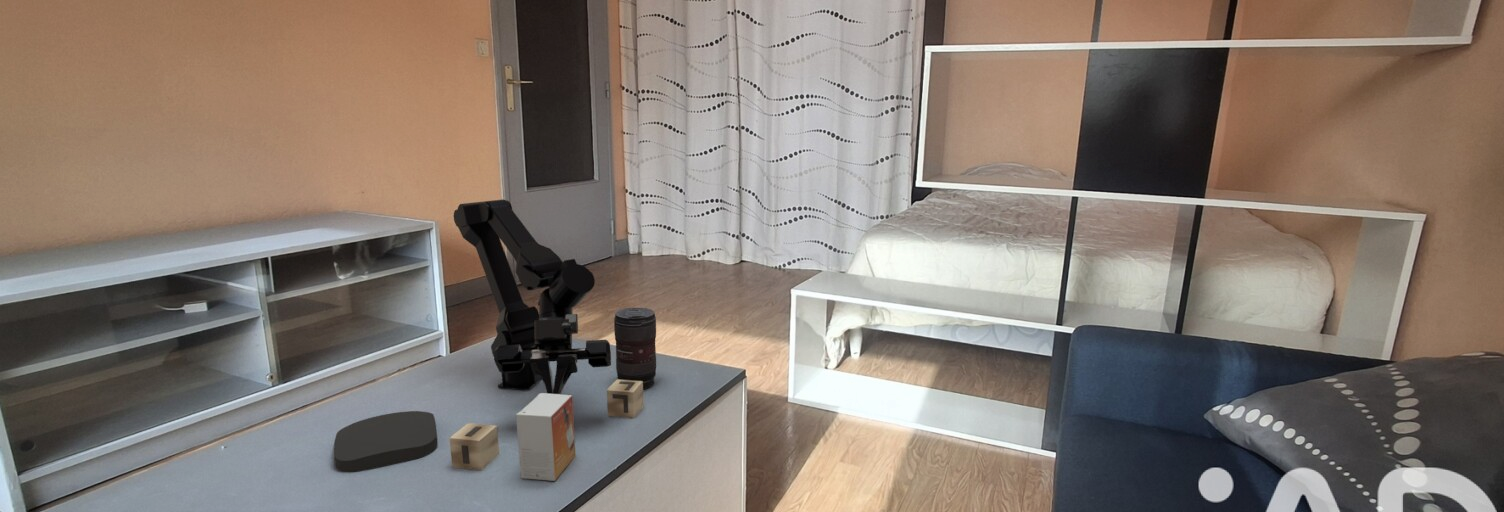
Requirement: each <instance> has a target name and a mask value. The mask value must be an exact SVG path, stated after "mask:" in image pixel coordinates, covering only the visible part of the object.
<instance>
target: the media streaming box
mask: <svg viewBox="0 0 1504 512" xmlns="http://www.w3.org/2000/svg"><path fill="white" fill-rule="evenodd" d="M436 423H437V422H436V419H435V416H434V414H433V413H432V412H429V411H419V410H409V411H398V412H397V411H396V412H392V413H385V414H380V415H376V416H372V417H368V418H365V419H362V420H359V421H355V422H353V423H351V424H349V425H346V426H345V427H343V428H341V429H340V430H338V431H337V432H336V434H335V438H334V444H333V457H334V465H335V469H336V470H338V471H341V472H343V473H344V472H346V473H347V472H348V473H354V472H362V471H365V470H371V469H376V468H380V467H381V468H382V467H386V466H391V465H395V464H399V463H404V462H405V463H406V462H409V461H413V460H417V459H420V458H423V457H427V456H428V455H431V453H433V452H434V451H435V450H437V448H438V443H439V441H438V434H437V425H436Z"/></svg>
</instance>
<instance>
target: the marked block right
mask: <svg viewBox="0 0 1504 512" xmlns="http://www.w3.org/2000/svg"><path fill="white" fill-rule="evenodd" d="M606 405H607V416H608V417H619V418H628V419H635V418H636V416H637V415H638V414H639V413H640V411H642V409H643V408H644V405H645V404H644V389H643V381H632V380H620V379H618V378H617V379H616V380H614V382H613V383H612V384H611V385H610V386H609V387H608V388H607V389H606Z"/></svg>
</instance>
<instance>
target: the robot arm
mask: <svg viewBox="0 0 1504 512" xmlns="http://www.w3.org/2000/svg"><path fill="white" fill-rule="evenodd" d="M453 222H454V224H455V227H457V228H458V230H459V232H460V234H461V236H462V238H463V239H464V241H465V240H466V242H468V243H469V244H471V245H472V246H473V247H474V248H475V250H476V253H477V255H478V258H479V260H480V263H481V266H482V268H483V271H484V274H485V277H486V280H487V282H488V285H489V288H490V290H491V293H492V296H493V299H494V302H495V304H496V306H497V311H498V313H499V315H498V318H497V322H496V326H495V330H496V333H497V335H496V336H495V339H494V340H493V342H492V343H491V346H490V350H491V353H492V357H493V361H494V363H495V365H496V368H497V369H498V370H497V371H498V372H499V373H501V382H500V383H499V384H497V388H498V389H505V390H518V391H519V390H521V391H528V390H530V389H531V388H533V387H534V386H535V385H536V384H537V383H538V382H540V381H541V380H542V382H543V384H544V387H545V390H546V393H548V394H562V391H563V390H564V388H565V385H566V383H567V382H568V380H569V378H570V377H571V375H572V374H574V373H575V374H576V373H577V372H578V365H577V363H578V361H580V360H581V361H582V360H587V362H588V365H589V366H590V367H592V368H604V367H610V366H612V353H611V344H610V343H611V342H610V341H608V339H593V340H592V339H591V340H589V339H588V340H586V341H585V347H581V348H580V347H579V348H578V347H576V348H573V334H574V335H576V334H578V333H579V321H578V319H579V317H578V314H577V313H573V311H574V309H573V308H575V307H577V306H579V304H580V303H581V302H582V301H583V300H584V299H585V298H586V296H588V295H589V293H590V292H591V291H592V290H593V288H594V286H595V284H596V283H595V281H596V279H595V275H594V274H593V272H591V271H590V270H589V269H588V268H587V267H586V266H584V265H582V264H578V263H577V261H576V259H575V258H571V259H564V260H562V258H561V257H560V256H559V255H558V254H557V253H555V252H554V251H553V250H552V249H551V248H550V247H547V246H544V245H542V244H539V243H538V241H537V240H536V239H535V237H533V236H532V234H531V233H530V231H529V230H528V228H527V227H526V226H525V224H524V223H523V222H522V221H521V220H520V218H519V216H518V215H517V214H516V213H515V212H514V210H513V207H512V204H511V202H510V201H509V200H507V199H503V198H502V199H494V200H485V201H476V202H468V203H467V202H466V203H465V202H464V203H460V204H459V205H458V207H457V209H455V210H454V211H453ZM502 243H503V244H504V246H505V248H506V249H507V250H508V251H509V253H510V254H511V257H513V259H514V261H515V262H516V264H515V265H516V267H515V274H516V275H517V278H518V280H519V283H520V284H521V285H522V287H523V288H525V290H527V291H534V290H535V291H536V290H540V289H544V290H543V291H542V292H541V293H540V295H539V299H538V302H537V305H538V309H537V307H536V306H534V305H533V306H528V305H527V304H526V303H525V302H524V300H523V297H522V293H521V292H520V289H519V286H518V284H517V280H516V278H515V276H514V274H513V273H514V272H513V271H512V268H511V266H510V262H509V260H508V258H507V254H506V252H505V250H504V247H503V244H502ZM551 362H556V365H555V367H556V368H555V375H554V379H553V371H552V367H551V364H550V363H551ZM553 381H554V382H553Z"/></svg>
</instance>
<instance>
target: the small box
mask: <svg viewBox="0 0 1504 512" xmlns="http://www.w3.org/2000/svg"><path fill="white" fill-rule="evenodd" d="M573 401H574V400H573V395H570V394H562V393H561V394H548V393H547V392H545V393H544V392H541V393H540V392H539V393H538V394H537V396H535V398H533V399H532V400H531V401H530V402H529V403H528V404H527V405H526V406H525V407H524V408H522V409H521V410H520V411H519V412H517V413H516V414H515V419H516V429H517V431H516V432H517V433H516V434H517V443H518V444H517V445H518V456H519V458H518V459H519V468H520V478H521V479H526V480H539V481H550V482H551V481H552V482H555V481H557V479H558V478H559V476H560V475H561V474H562V472H563V471H564V470H565V469H566V468H567V466H568V465H569V464H570V463H571V462H572V461H573V460H574V459H575V457H576V440H575V438H576V437H575V423H574V421H575V420H574V402H573Z"/></svg>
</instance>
